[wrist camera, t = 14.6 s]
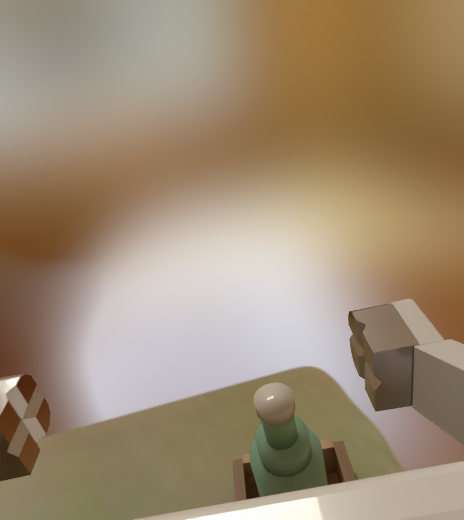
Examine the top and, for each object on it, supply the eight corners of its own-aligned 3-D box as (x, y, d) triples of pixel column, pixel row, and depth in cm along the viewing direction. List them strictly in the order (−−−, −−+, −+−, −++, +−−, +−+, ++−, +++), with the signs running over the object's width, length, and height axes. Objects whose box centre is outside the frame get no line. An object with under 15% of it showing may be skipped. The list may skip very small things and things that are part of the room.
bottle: (279, 578, 36) (238, 439, 27) (269, 512, 41) (231, 377, 32) (344, 565, 36) (323, 421, 27) (326, 501, 40) (303, 362, 32)
